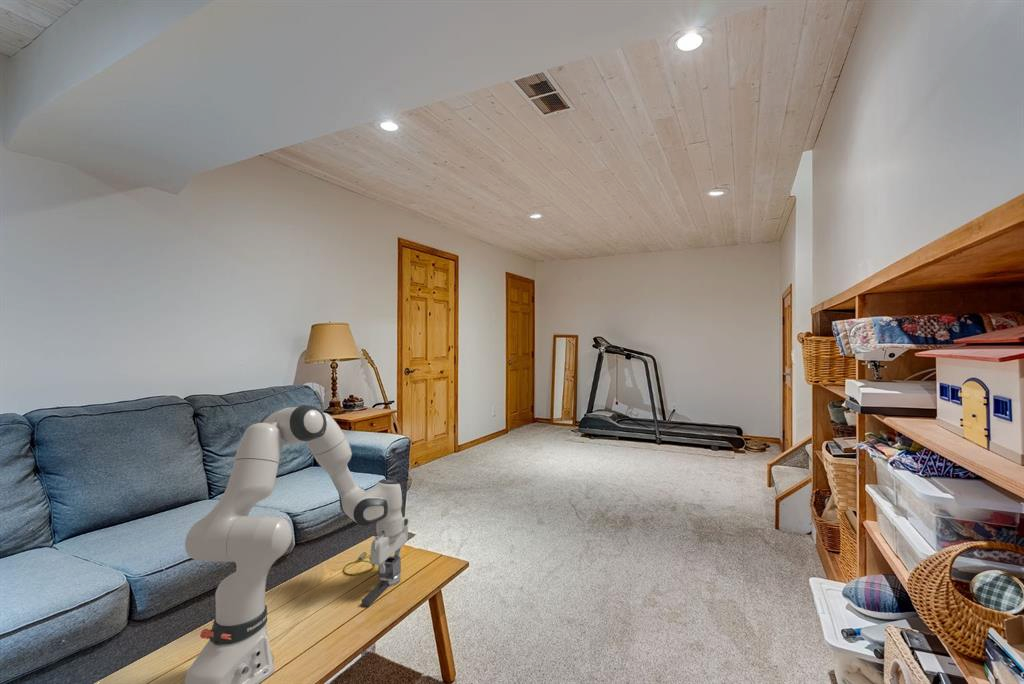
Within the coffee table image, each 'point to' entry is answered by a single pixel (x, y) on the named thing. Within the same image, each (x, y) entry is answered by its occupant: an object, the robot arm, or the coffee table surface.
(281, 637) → the coffee table surface
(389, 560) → the socket
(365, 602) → the ratchet
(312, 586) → the coffee table surface
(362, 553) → the extension cord
